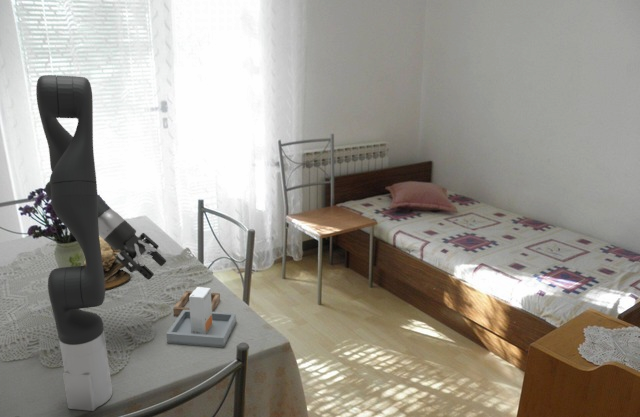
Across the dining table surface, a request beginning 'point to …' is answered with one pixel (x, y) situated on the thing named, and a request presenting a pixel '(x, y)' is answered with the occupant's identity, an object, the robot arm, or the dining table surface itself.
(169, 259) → the dining table surface
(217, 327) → the tray
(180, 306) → the socket block
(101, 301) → the robot arm
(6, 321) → the dining table surface
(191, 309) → the skincare box
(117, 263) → the beige lumpy sculpture
